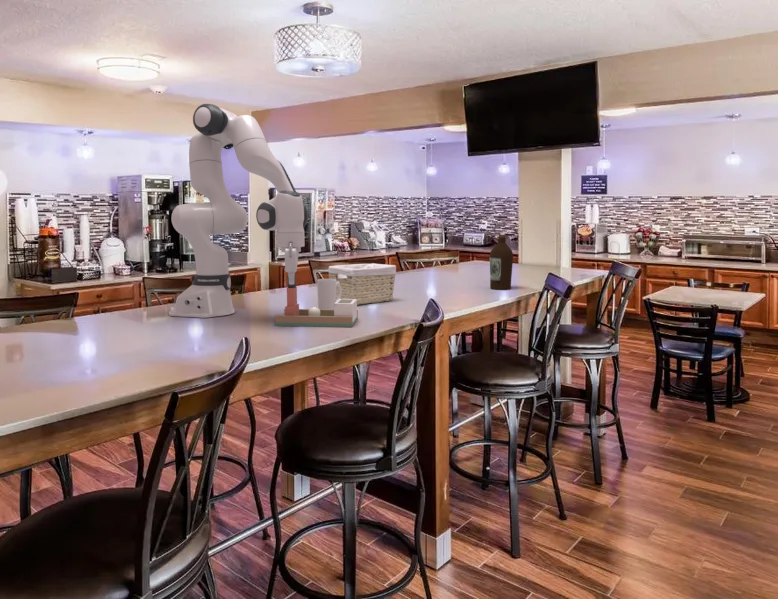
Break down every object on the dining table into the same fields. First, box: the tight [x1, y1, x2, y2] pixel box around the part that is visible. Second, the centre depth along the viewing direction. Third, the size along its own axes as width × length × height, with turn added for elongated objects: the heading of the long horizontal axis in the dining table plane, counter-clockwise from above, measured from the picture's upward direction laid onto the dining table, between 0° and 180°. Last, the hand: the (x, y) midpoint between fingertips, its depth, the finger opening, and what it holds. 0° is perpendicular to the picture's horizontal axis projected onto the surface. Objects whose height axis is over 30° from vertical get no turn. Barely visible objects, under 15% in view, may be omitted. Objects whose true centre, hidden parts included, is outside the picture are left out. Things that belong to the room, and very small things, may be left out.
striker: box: [284, 274, 300, 316], centre depth 206 cm, size 3×7×14 cm, turn 175°
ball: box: [308, 306, 320, 316], centre depth 206 cm, size 4×4×4 cm
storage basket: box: [327, 262, 397, 306], centre depth 250 cm, size 24×16×15 cm
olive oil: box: [489, 234, 514, 291], centre depth 289 cm, size 11×11×25 cm
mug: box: [316, 278, 342, 310], centre depth 225 cm, size 10×7×12 cm, turn 134°
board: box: [274, 299, 359, 328], centre depth 206 cm, size 25×14×7 cm, turn 85°
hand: (291, 283), depth 206 cm, fingers closed on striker, 3 cm apart
